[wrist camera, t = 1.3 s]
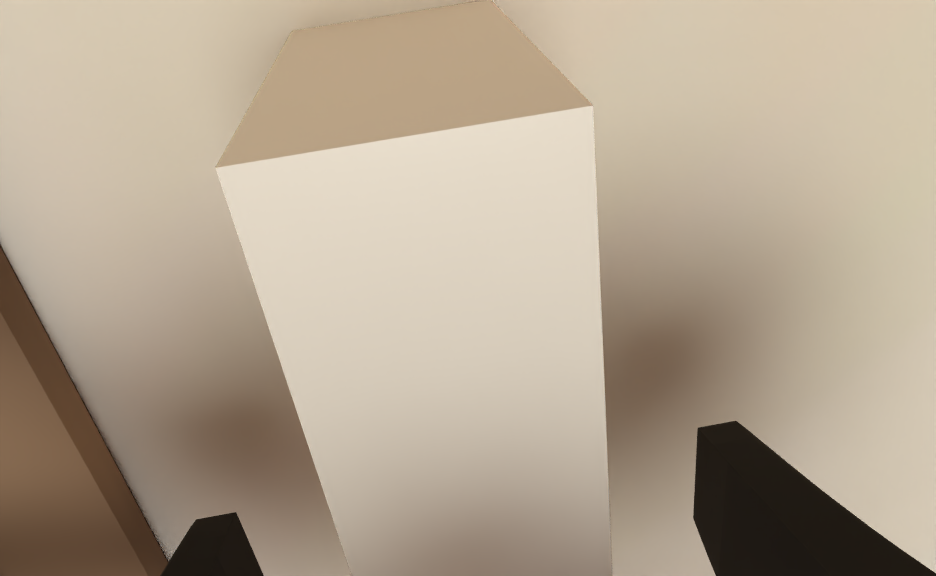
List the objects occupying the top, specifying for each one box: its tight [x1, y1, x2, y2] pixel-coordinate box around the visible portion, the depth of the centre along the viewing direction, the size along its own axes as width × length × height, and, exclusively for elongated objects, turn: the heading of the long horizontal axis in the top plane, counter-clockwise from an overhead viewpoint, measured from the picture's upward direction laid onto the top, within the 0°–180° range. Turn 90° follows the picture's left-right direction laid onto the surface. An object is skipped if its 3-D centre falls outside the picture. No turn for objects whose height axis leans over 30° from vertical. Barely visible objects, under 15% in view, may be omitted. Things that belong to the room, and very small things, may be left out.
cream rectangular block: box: [215, 0, 612, 576], centre depth 11 cm, size 14×3×8 cm, turn 8°
